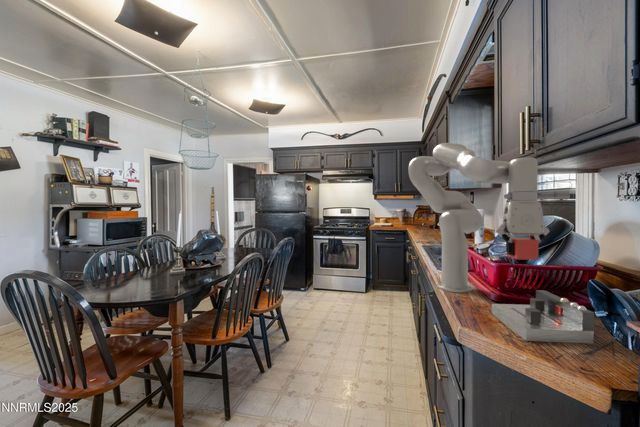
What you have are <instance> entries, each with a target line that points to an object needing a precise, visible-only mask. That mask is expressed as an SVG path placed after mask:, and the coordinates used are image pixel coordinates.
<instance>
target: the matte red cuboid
mask: <svg viewBox="0 0 640 427" xmlns="http://www.w3.org/2000/svg"><path fill="white" fill-rule="evenodd" d="M513 243H514V244H515V255H514V256H512V255H509V254H507V253H506V257H507V258H508V257H509V258H511V259H514V260H519V261H520V260H523V261H524V260H525V261H526V260H527V261H528V260H531V261H533V260H534V261H538V260H539V243H538V240H535V239H530V237H515V238H514V240H513Z"/></svg>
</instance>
